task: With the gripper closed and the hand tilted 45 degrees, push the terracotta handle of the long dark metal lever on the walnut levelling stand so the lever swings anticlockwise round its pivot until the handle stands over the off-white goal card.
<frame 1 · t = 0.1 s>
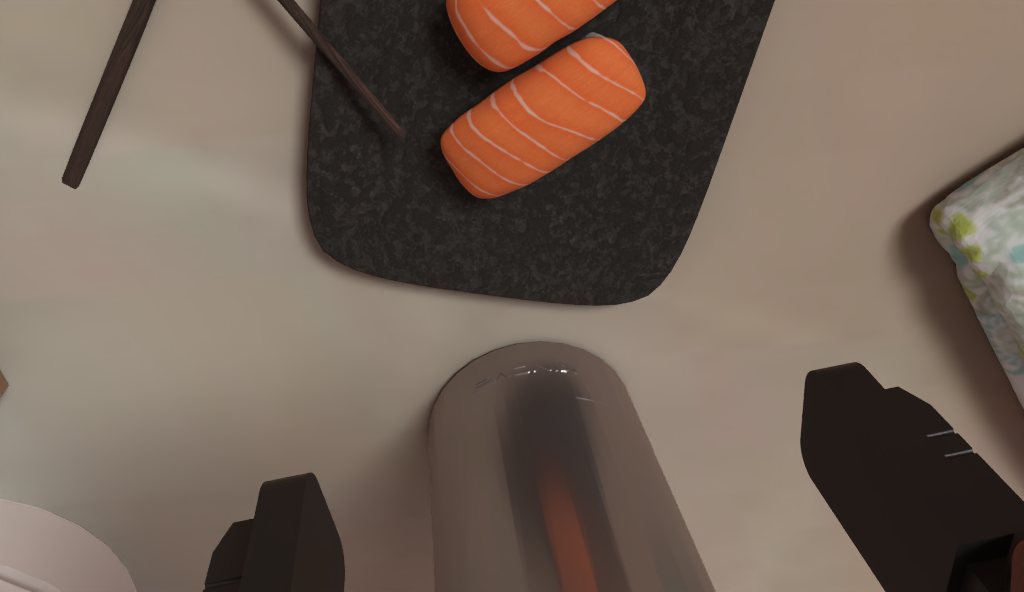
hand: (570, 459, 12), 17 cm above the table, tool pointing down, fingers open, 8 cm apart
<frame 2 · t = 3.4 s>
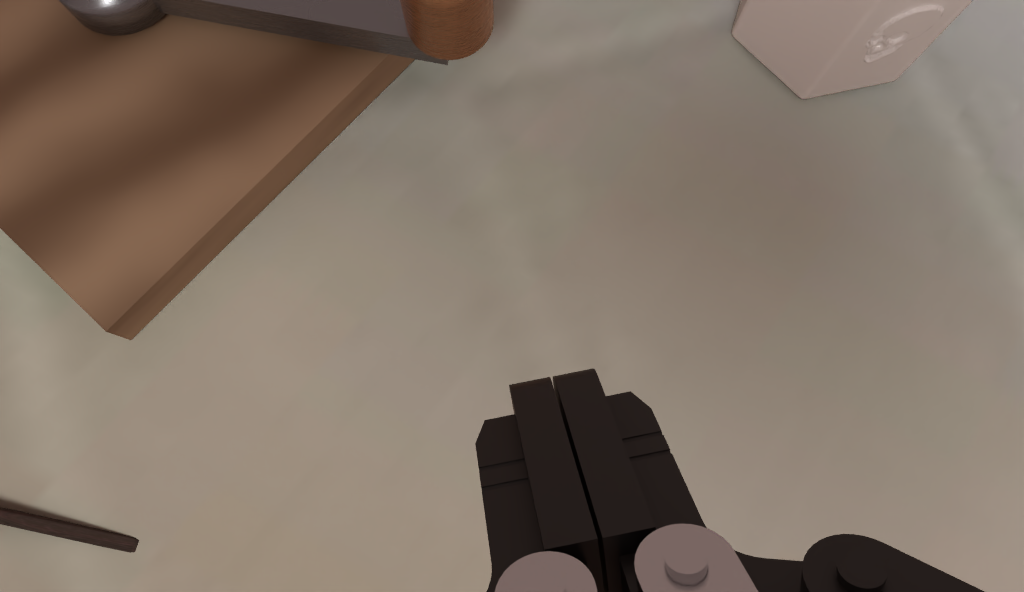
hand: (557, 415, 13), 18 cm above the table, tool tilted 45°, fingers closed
jar: (820, 21, 36), on the table
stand: (148, 17, 36), on the table
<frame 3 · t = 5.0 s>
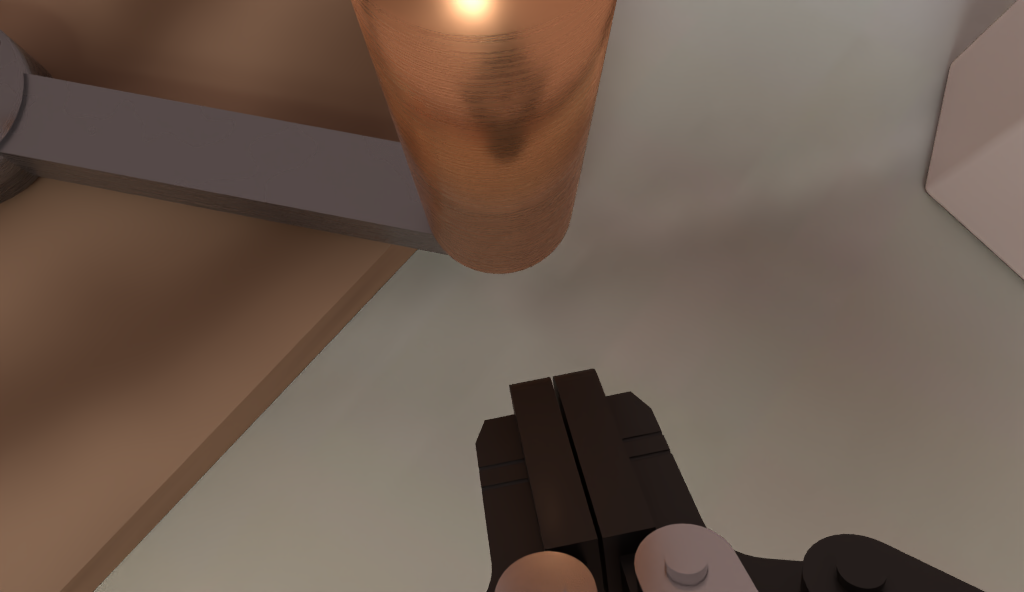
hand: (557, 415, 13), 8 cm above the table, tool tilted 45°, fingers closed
lever: (106, 56, 15), point 8 cm above the table, hinge at 30.0°
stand: (29, 162, 23), on the table
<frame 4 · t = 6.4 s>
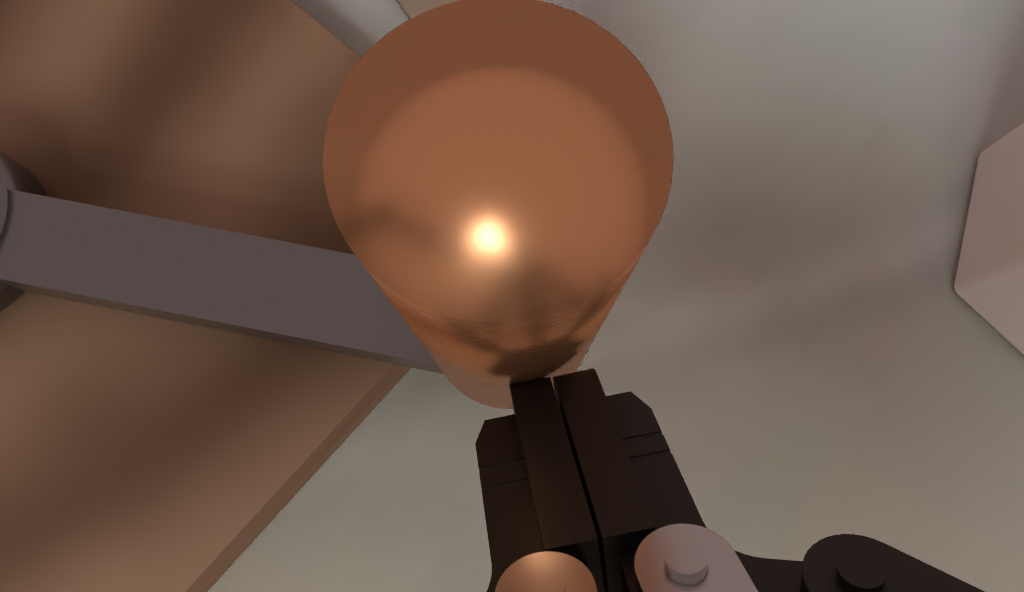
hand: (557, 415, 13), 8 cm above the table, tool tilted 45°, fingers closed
lever: (90, 209, 14), point 8 cm above the table, hinge at 30.0°, touching gripper
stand: (16, 261, 22), on the table
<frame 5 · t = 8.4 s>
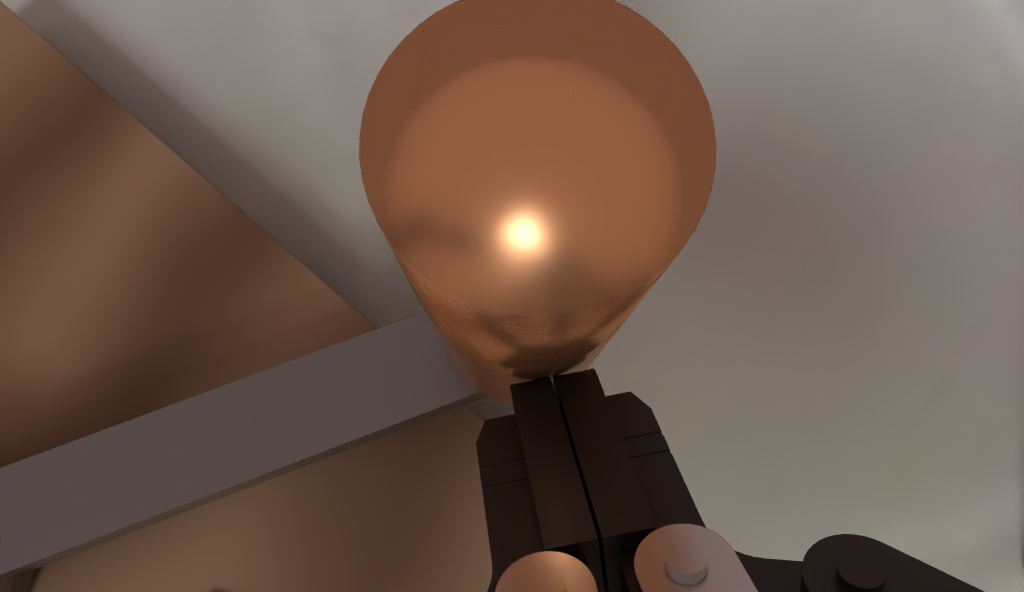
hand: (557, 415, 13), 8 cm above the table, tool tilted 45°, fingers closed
lever: (91, 442, 13), point 8 cm above the table, hinge at 61.4°, touching gripper
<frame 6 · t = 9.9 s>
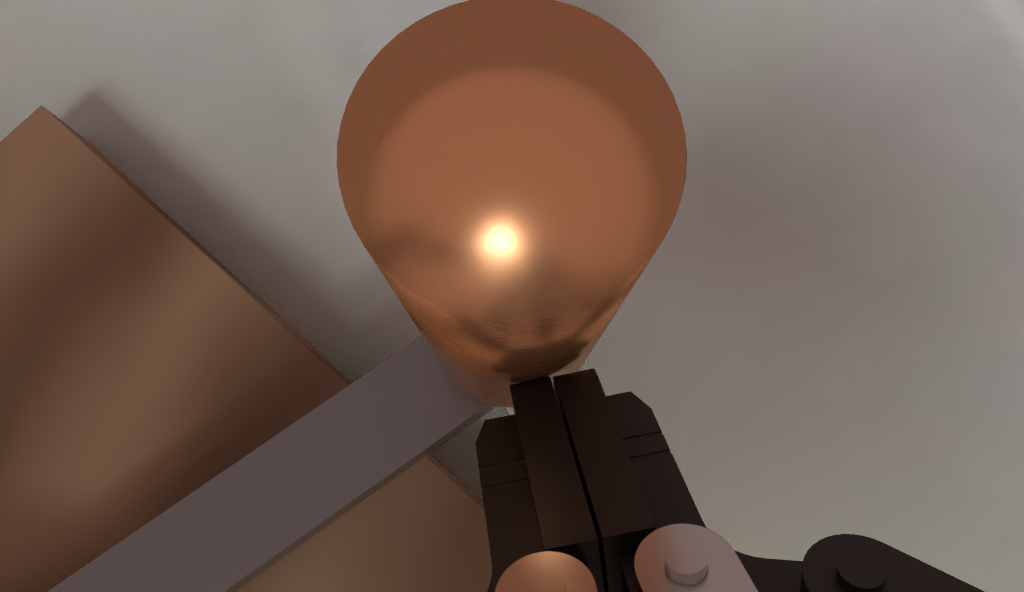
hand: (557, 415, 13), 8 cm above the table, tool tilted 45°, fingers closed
lever: (125, 552, 12), point 8 cm above the table, hinge at 76.4°, touching gripper
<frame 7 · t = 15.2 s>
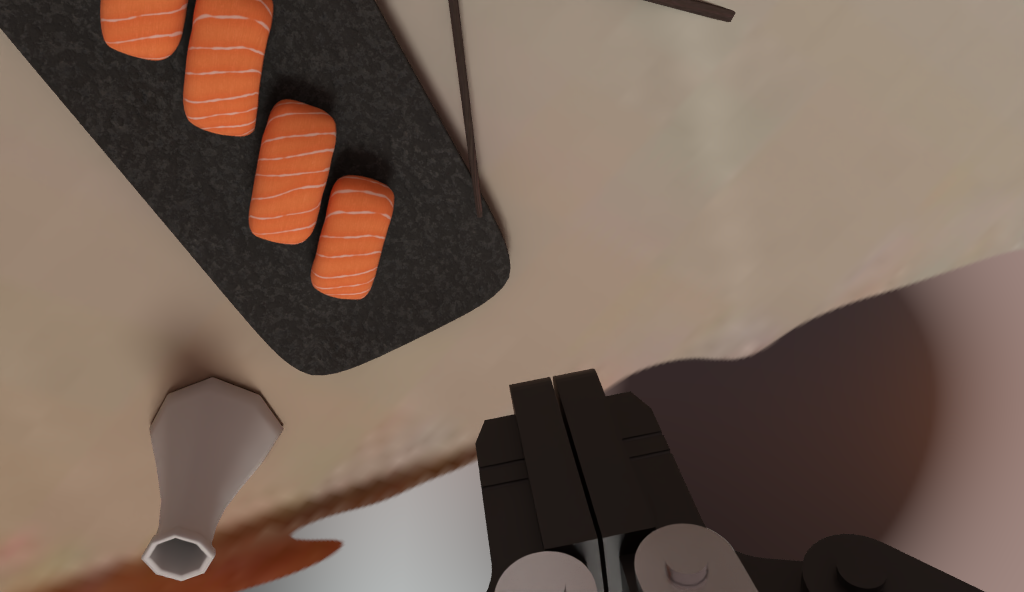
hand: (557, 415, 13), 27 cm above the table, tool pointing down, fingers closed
flask: (219, 423, 46), on the table
sushi plate: (406, 30, 36), on the table
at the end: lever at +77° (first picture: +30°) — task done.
